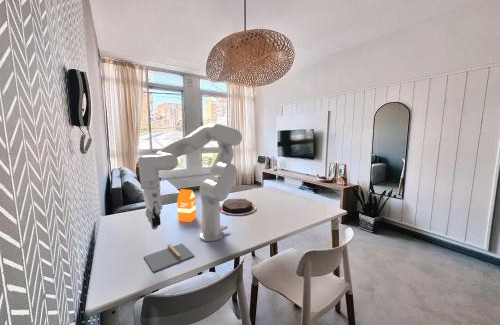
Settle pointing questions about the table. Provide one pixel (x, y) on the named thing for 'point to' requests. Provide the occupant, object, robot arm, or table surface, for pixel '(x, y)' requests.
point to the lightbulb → (149, 216)
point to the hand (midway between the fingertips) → (154, 222)
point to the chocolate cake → (237, 207)
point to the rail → (174, 251)
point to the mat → (167, 258)
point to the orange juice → (186, 205)
